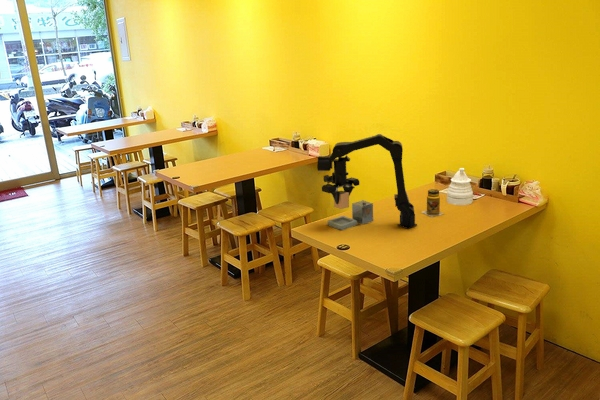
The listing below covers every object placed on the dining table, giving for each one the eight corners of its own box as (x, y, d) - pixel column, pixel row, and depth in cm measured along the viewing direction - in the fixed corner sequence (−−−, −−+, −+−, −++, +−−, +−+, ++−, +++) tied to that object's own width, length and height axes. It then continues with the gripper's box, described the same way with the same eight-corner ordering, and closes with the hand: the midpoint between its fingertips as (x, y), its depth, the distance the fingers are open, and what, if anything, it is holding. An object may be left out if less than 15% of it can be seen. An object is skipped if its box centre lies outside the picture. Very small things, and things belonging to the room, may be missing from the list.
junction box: (373, 221, 244) (373, 202, 241) (363, 225, 240) (362, 205, 237) (362, 217, 250) (362, 198, 247) (351, 220, 247) (351, 202, 244)
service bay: (357, 225, 241) (357, 220, 240) (341, 230, 235) (341, 226, 235) (343, 219, 249) (343, 215, 248) (327, 225, 243) (327, 220, 242)
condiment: (431, 217, 245) (431, 193, 242) (420, 212, 253) (421, 189, 249) (443, 214, 248) (444, 190, 244) (432, 209, 255) (433, 186, 252)
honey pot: (475, 204, 259) (477, 170, 253) (450, 205, 259) (451, 171, 254) (468, 196, 271) (469, 164, 265) (443, 198, 271) (445, 165, 266)
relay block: (348, 207, 238) (349, 191, 236) (340, 209, 236) (340, 193, 233) (341, 204, 242) (341, 189, 240) (333, 206, 239) (333, 191, 237)
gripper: (343, 163, 245) (345, 194, 250) (313, 171, 235) (315, 203, 239) (359, 167, 236) (360, 199, 241) (328, 175, 226) (330, 209, 231)
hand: (341, 202), depth 238 cm, fingers closed on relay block, 5 cm apart
